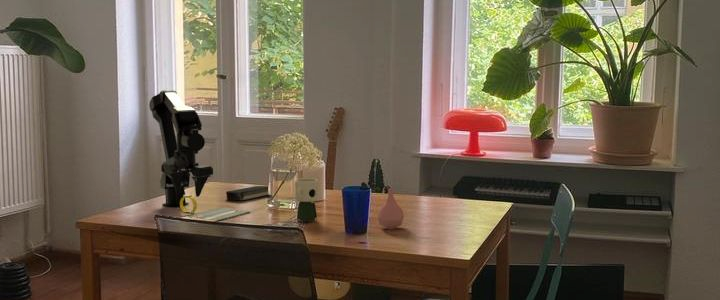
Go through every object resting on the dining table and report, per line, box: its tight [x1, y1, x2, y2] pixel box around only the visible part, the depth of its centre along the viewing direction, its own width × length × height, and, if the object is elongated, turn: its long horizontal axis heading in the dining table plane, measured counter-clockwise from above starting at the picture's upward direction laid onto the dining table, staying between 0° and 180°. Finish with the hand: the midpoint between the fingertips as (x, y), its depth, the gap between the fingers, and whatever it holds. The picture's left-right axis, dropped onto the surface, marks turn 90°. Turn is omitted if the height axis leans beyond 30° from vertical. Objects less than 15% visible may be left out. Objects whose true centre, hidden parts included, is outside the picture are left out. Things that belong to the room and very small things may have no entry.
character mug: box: [294, 177, 319, 222], centre depth 235 cm, size 11×7×13 cm, turn 156°
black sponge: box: [225, 185, 269, 201], centre depth 274 cm, size 16×8×4 cm, turn 141°
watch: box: [179, 194, 198, 214], centre depth 249 cm, size 6×3×6 cm, turn 65°
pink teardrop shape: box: [377, 187, 405, 230], centre depth 225 cm, size 8×8×12 cm
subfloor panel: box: [182, 206, 251, 221], centre depth 243 cm, size 13×22×1 cm, turn 145°
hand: (187, 194), depth 248 cm, fingers open, 9 cm apart
